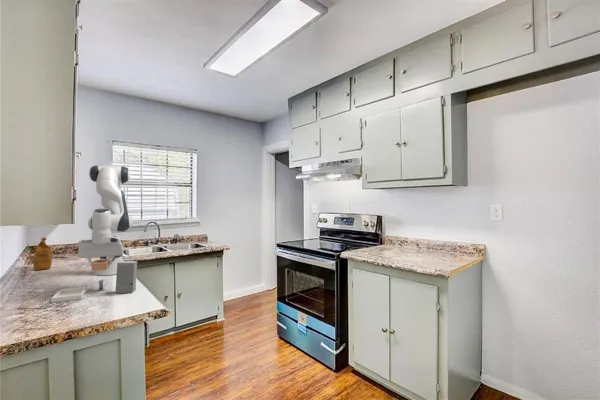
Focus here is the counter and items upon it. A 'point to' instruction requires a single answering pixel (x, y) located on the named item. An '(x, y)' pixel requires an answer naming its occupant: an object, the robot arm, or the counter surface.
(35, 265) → the coffee package
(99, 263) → the brown open box
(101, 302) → the counter surface
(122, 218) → the robot arm
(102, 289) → the stake
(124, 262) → the skincare box
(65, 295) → the tray
